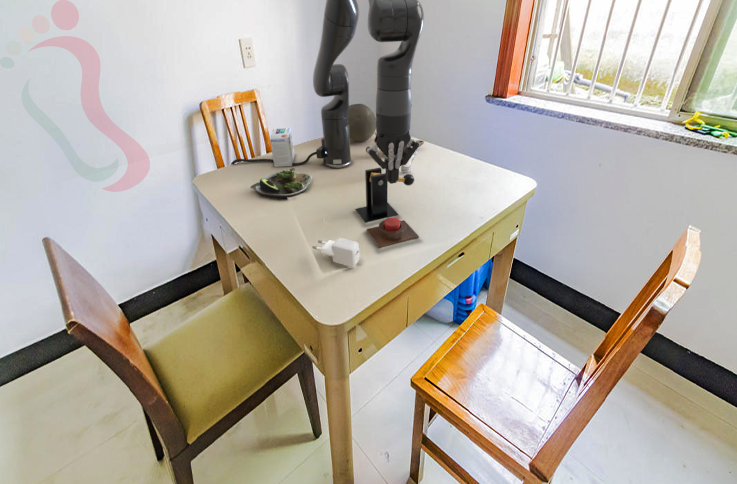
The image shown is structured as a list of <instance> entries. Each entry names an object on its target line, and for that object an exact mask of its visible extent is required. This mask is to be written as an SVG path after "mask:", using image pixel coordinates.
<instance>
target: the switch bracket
mask: <svg viewBox="0 0 737 484" xmlns="http://www.w3.org/2000/svg"><path fill="white" fill-rule="evenodd" d="M364 171H365V172H364V175H365V178H364V179H365V206H361V207H358V208H355V211H356V212H357V213H358V215H359V216H360V218H361V219H362V221H364V223H366V224H367V223H371V222H374V221H375V222H376V221H379V220H380V221H381V220H385V219H387V218H392V217H396V216H400V215H399V213H398V212H397V211H396V210H395V209H394V208H393V207H392V206H391V205H390V203H389V202H388V183H389V182H388V181H387V180H386V172H384V173H382V168H381V167H375V168H369V169H365V170H364ZM371 173H381V174H379V175H374V176H371V182H370V181H369V180H370V175H371Z"/></svg>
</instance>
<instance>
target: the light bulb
mask: <svg viewBox="0 0 737 484" xmlns="http://www.w3.org/2000/svg"><path fill="white" fill-rule="evenodd" d="M405 148H406V147H405ZM403 151H404V150H403ZM417 154H418V149H417V150H416V151H415V152H414V154H413V155H412V157H411V158H410V160H409V161H408V162H407V164H406V165H402V166H400V172H401V173H402V174H410V172H411V171H412V169H411V167H412V164H413V161H414V160H415V158H416V156H417Z"/></svg>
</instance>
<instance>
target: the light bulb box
mask: <svg viewBox="0 0 737 484" xmlns="http://www.w3.org/2000/svg"><path fill="white" fill-rule="evenodd" d="M269 143H270V148H271V153H272V159H273V160H274V162H273V166H274V167H275V168H277V167H278V168H279V167H293V166H292V163H294V159H295V149H294V142H293V135H292V129H291V127H286V128H273V129H272V132H271V135H270V137H269Z"/></svg>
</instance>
